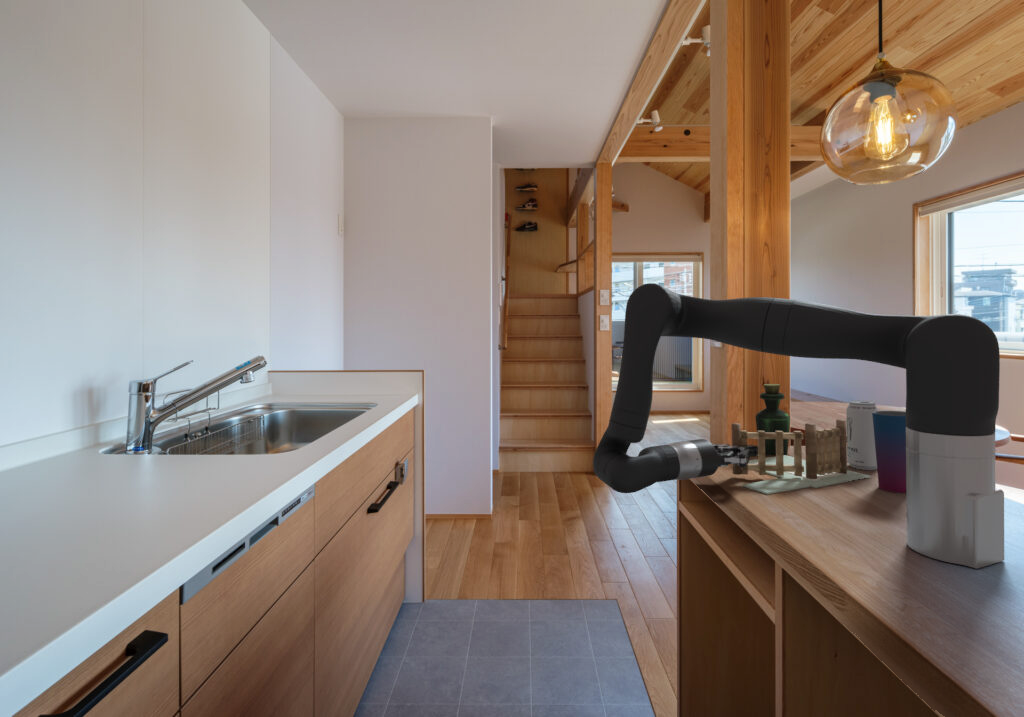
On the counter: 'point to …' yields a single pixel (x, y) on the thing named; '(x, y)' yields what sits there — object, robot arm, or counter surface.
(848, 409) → the energy drink can
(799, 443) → the swing panel
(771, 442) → the potion bottle
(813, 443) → the fixed fence panel
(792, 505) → the counter surface
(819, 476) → the board
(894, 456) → the cup
